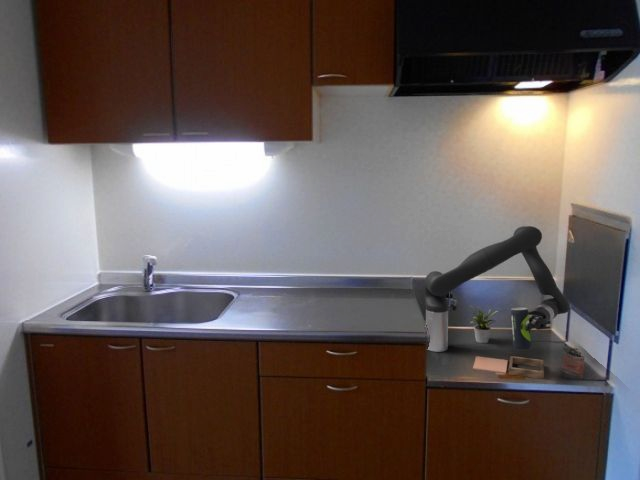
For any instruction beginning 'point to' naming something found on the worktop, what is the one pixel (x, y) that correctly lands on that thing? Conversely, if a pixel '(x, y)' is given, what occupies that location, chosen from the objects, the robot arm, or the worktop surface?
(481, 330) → the house plant
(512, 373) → the wooden tray
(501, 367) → the trivet
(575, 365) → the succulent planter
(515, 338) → the beverage can
